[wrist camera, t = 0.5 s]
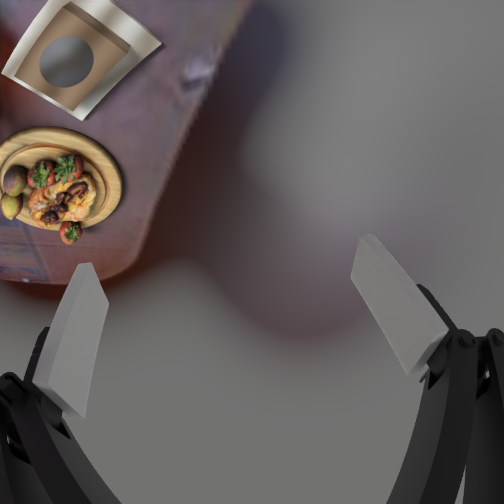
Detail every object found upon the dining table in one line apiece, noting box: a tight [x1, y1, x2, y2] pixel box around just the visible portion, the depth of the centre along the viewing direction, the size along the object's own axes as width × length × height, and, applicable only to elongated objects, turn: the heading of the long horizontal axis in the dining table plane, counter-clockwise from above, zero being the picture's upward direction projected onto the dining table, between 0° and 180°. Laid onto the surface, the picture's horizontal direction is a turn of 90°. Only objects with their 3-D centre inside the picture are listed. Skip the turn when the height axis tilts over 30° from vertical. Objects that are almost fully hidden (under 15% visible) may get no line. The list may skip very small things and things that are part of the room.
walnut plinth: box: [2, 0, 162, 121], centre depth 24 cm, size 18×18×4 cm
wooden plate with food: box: [0, 126, 123, 244], centre depth 45 cm, size 32×32×8 cm
